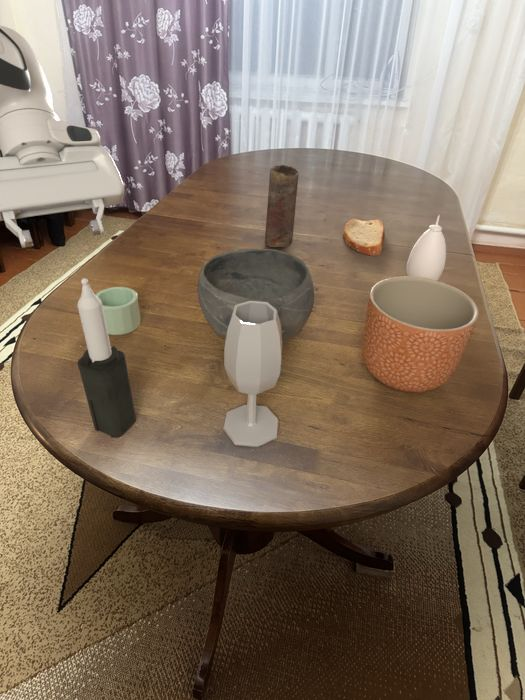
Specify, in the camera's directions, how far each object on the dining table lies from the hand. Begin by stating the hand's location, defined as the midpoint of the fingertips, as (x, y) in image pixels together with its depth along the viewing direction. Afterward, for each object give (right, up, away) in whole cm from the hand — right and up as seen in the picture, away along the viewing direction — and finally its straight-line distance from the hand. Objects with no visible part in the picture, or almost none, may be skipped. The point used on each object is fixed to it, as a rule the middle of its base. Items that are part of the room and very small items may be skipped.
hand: (64, 239), depth 65 cm
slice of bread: (+57, +16, +67) cm, 90 cm away
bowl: (+26, -13, +27) cm, 39 cm away
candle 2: (+32, +13, +62) cm, 71 cm away
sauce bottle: (+64, -1, +45) cm, 78 cm away
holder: (-1, -10, +29) cm, 30 cm away
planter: (+53, -20, +19) cm, 60 cm away
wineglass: (+26, -27, +7) cm, 38 cm away
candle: (+5, -27, +7) cm, 28 cm away
